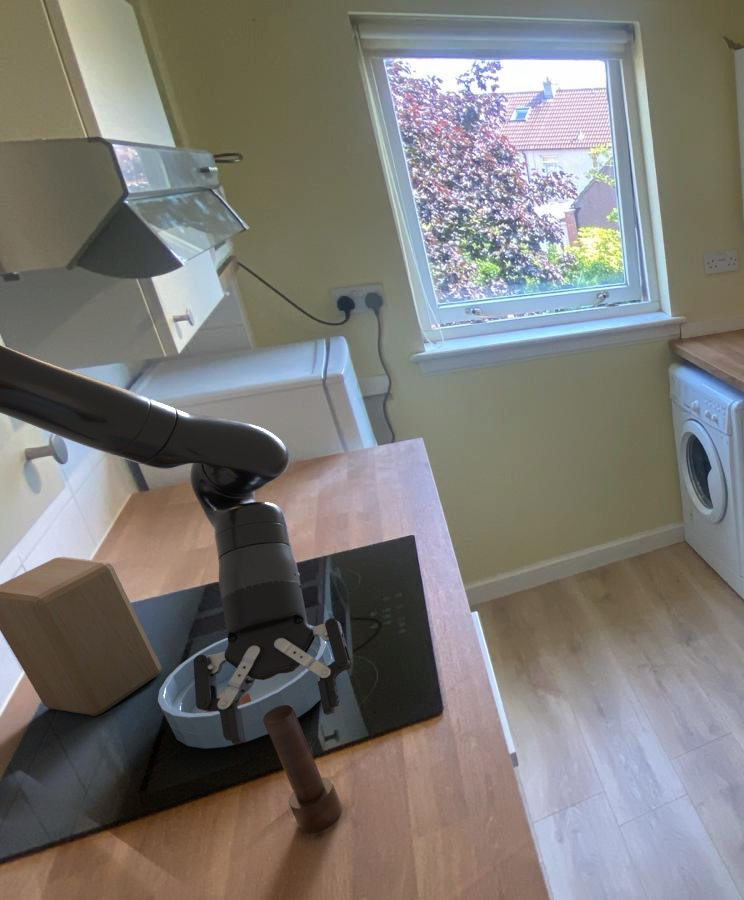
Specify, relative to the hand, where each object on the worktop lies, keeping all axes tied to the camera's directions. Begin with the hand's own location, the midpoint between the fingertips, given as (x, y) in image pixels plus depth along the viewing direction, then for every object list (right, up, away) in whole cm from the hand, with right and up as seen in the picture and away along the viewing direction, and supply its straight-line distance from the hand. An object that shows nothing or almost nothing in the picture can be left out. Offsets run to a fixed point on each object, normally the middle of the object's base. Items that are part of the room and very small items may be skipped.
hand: (285, 727), depth 81 cm
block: (-20, -6, +19) cm, 29 cm away
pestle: (0, -13, +5) cm, 14 cm away
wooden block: (-45, -5, +26) cm, 52 cm away
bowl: (-20, -5, +24) cm, 32 cm away
